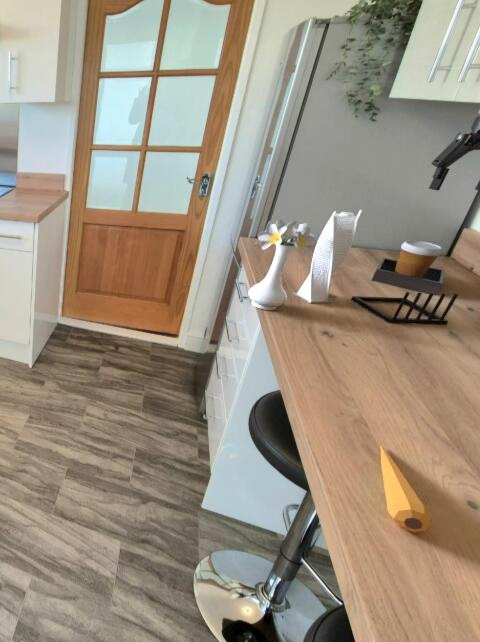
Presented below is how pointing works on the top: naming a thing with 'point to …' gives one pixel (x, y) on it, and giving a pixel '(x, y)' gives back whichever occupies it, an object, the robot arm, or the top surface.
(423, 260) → the disposable coffee cup
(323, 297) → the skyscraper
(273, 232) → the flower vase
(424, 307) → the dish rack
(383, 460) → the carrot
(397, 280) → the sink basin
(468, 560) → the top surface
